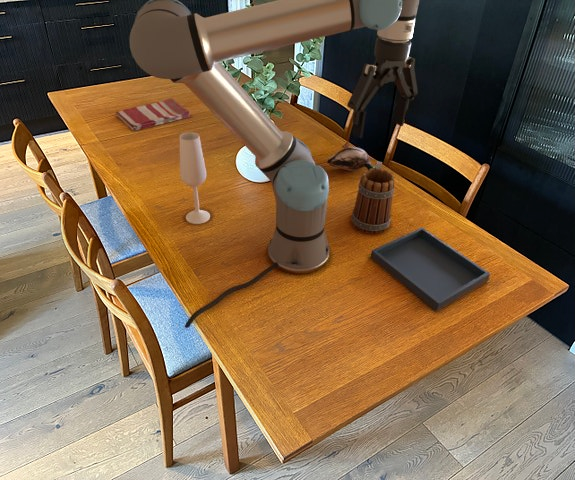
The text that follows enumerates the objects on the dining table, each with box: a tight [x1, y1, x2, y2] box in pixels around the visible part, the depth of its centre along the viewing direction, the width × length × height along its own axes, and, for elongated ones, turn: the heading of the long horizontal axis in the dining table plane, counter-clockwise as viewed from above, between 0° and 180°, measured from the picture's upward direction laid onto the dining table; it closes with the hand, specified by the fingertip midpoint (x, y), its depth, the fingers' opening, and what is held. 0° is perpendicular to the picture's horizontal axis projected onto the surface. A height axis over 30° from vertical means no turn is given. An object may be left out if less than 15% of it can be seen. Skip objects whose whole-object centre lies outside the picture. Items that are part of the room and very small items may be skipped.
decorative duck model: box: [326, 140, 376, 172], centre depth 147 cm, size 15×8×15 cm
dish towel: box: [115, 98, 191, 131], centre depth 178 cm, size 17×23×3 cm
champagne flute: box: [179, 131, 211, 225], centre depth 121 cm, size 7×7×24 cm
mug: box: [351, 161, 396, 235], centre depth 126 cm, size 16×11×15 cm
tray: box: [370, 227, 491, 312], centre depth 113 cm, size 18×22×2 cm
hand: (378, 129), depth 114 cm, fingers open, 13 cm apart
